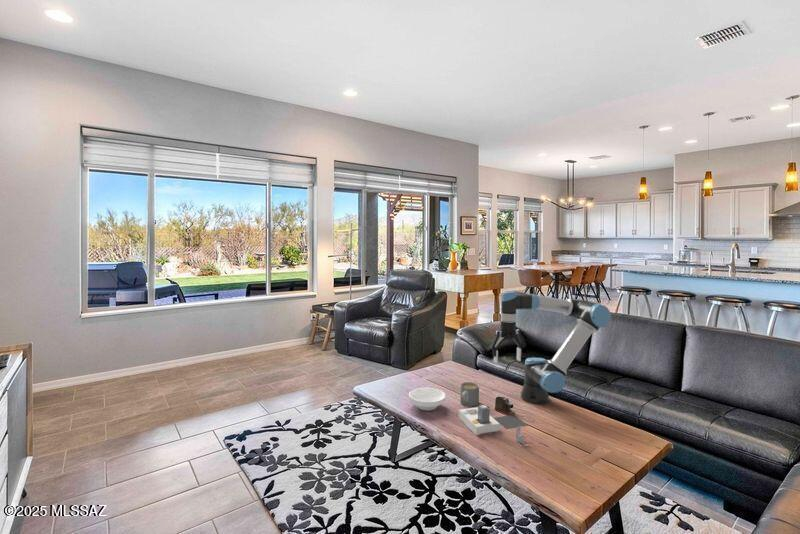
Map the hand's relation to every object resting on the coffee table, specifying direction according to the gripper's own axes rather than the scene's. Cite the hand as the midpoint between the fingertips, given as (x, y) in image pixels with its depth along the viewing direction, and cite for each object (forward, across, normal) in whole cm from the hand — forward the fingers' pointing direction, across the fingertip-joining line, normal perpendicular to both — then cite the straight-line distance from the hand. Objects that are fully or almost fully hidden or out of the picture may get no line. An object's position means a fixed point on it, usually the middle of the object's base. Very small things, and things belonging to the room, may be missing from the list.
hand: (507, 361), depth 206 cm
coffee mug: (+27, +15, -14) cm, 34 cm away
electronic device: (+27, +1, +1) cm, 27 cm away
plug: (+26, +21, +14) cm, 36 cm away
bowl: (+27, +38, -16) cm, 49 cm away
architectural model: (+28, +6, +29) cm, 41 cm away
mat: (+27, +5, +12) cm, 30 cm away
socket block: (+27, +21, +9) cm, 35 cm away
